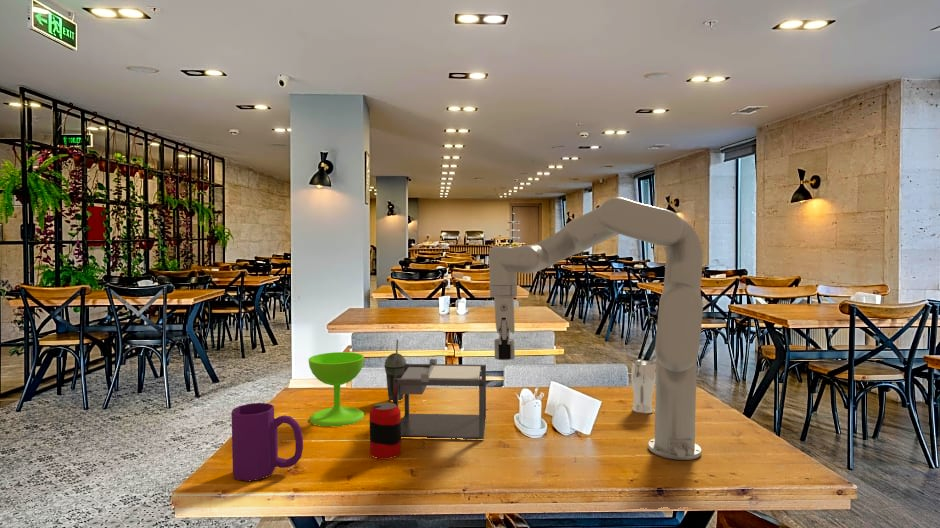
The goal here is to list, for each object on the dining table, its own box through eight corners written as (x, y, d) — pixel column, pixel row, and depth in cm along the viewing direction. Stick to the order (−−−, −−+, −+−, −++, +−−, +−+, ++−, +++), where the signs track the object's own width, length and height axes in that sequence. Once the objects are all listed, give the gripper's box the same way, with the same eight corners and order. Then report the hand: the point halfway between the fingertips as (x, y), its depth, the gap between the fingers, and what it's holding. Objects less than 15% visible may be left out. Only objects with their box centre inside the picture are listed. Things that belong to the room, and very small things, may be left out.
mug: (240, 465, 131) (239, 403, 130) (307, 463, 132) (306, 401, 131) (226, 483, 122) (224, 415, 121) (298, 480, 123) (297, 413, 122)
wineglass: (369, 422, 161) (369, 361, 160) (312, 430, 155) (311, 366, 154) (359, 407, 175) (358, 350, 174) (306, 413, 170) (305, 354, 169)
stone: (514, 360, 151) (514, 341, 151) (494, 360, 151) (494, 341, 151) (514, 355, 156) (514, 338, 156) (494, 355, 157) (494, 338, 157)
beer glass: (657, 414, 168) (658, 365, 167) (634, 414, 168) (635, 365, 167) (650, 407, 175) (651, 360, 174) (628, 407, 175) (628, 359, 174)
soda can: (367, 450, 140) (366, 403, 140) (396, 446, 143) (396, 400, 142) (373, 461, 133) (372, 412, 132) (404, 457, 136) (403, 408, 135)
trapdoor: (478, 395, 148) (478, 377, 147) (399, 394, 149) (399, 376, 149) (480, 381, 162) (480, 365, 162) (409, 380, 163) (409, 364, 163)
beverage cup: (380, 402, 181) (379, 340, 180) (393, 396, 187) (392, 337, 186) (398, 405, 177) (398, 342, 176) (411, 399, 184) (410, 339, 183)
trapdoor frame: (483, 441, 146) (483, 375, 145) (393, 439, 148) (392, 373, 147) (485, 418, 165) (485, 359, 164) (405, 416, 166) (405, 358, 165)
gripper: (517, 294, 144) (519, 363, 145) (516, 288, 161) (517, 350, 162) (488, 294, 145) (490, 363, 146) (490, 288, 162) (491, 350, 163)
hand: (504, 355), depth 154 cm, fingers closed on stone, 5 cm apart
